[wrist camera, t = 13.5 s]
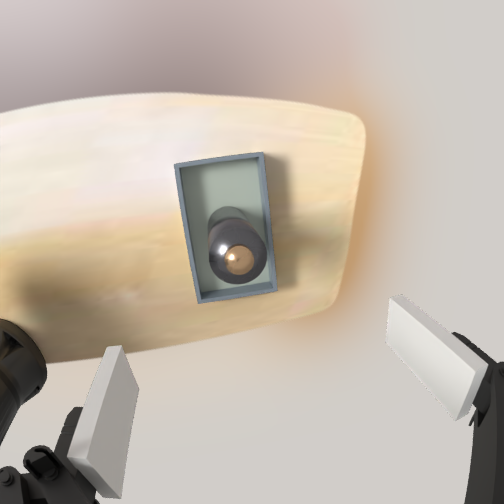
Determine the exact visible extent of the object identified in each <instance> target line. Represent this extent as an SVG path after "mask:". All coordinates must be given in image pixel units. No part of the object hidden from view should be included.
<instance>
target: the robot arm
mask: <svg viewBox="0 0 504 504" xmlns="http://www.w3.org/2000/svg"><path fill="white" fill-rule="evenodd" d="M385 343H387V345H388V346H389V347H390V348H391V349H392V350H393V351H394V352H395V353H396V355H397V356H399V358H400V359H401V360H402V361H403V362H404V363H405V365H406V366H407V367H408V368H409V369H410V370H411V371H412V372H413V373H414V375H415V376H416V377H417V378H418V379H419V380H420V381H421V382H422V384H423V385H424V386H425V387H426V388H427V389H428V390H429V392H430V393H431V394H432V395H433V396H434V397H435V398H436V400H437V401H438V402H439V403H440V404H441V405H442V406H443V408H444V409H445V410H446V411H447V412H448V413H449V415H450V416H451V417H452V418H453V419H454V420H455V421H457V420H458V419H460V418H462V417H463V416H465V415H467V414H468V413H469V410H470V408H471V406H472V404H473V405H474V406H475V407H476V410H475V413H474V415H473V417H472V419H471V421H470V423H469V426H471V425H472V423H473V421H474V433H473V446H472V456H471V465H470V473H469V480H468V486H467V492H466V497H465V503H464V504H504V362H499V363H496V362H495V361H494V360H493V359H492V358H490V357H489V356H488V355H487V354H486V353H484V352H483V351H482V350H481V349H480V348H477V346H476V345H475V344H473V343H471V341H470V340H468V339H467V338H466V337H465V336H463V335H461V334H458V333H456V332H453V333H450V332H449V331H448V330H446V329H445V328H444V327H443V326H442V325H440V324H439V323H438V322H437V321H435V320H434V319H433V318H432V317H430V316H429V315H428V314H427V313H425V312H424V311H423V310H421V309H420V308H419V307H417V306H416V305H415V304H414V303H412V302H411V301H410V300H409V299H407V298H406V297H404V296H403V295H398V296H394V297H390V302H389V312H388V322H387V331H386V340H385ZM46 379H47V368H46V364H45V361H44V358H43V356H42V354H41V352H40V351H39V349H38V347H37V346H36V345H35V343H34V342H33V341H32V340H31V338H30V337H29V336H28V335H27V334H26V333H25V332H24V331H22V330H21V329H20V328H19V327H17V326H16V325H14V324H12V323H10V322H8V321H6V320H3V319H0V445H1V443H2V441H3V439H4V437H5V435H6V433H7V431H8V429H9V427H10V425H11V423H12V421H13V419H14V417H15V415H16V413H17V411H18V409H19V408H20V406H21V405H23V404H24V403H25V402H27V401H28V400H29V399H31V398H32V397H34V396H35V395H36V394H38V393H39V392H40V390H41V389H42V387H43V385H44V383H45V381H46ZM138 392H139V387H138V385H137V383H136V380H135V378H134V376H133V373H132V371H131V368H130V366H129V363H128V361H127V358H126V355H125V353H124V350H123V347H122V345H120V346H109V347H107V348H106V351H105V353H104V356H103V358H102V360H101V363H100V365H99V368H98V370H97V373H96V375H95V378H94V380H93V383H92V386H91V388H90V391H89V394H88V397H87V399H86V402H85V404H84V407H74V408H73V410H72V411H71V412H70V413H69V414H68V415H67V418H66V420H65V423H64V427H63V428H62V431H61V434H60V436H59V439H58V442H57V445H56V447H55V450H54V453H53V452H52V450H51V449H50V448H49V447H46V446H41V445H39V446H35V447H33V448H31V449H30V450H29V451H27V453H26V454H25V456H24V459H23V464H24V467H25V468H26V469H27V470H28V471H29V472H30V473H26V474H20V473H19V472H18V471H17V470H16V469H15V468H14V467H11V466H6V467H3V468H1V469H0V504H100V503H99V502H98V501H97V500H96V499H95V494H96V491H98V493H99V494H100V495H101V496H102V497H105V498H118V499H121V496H122V487H123V480H124V473H125V466H126V459H127V452H128V446H129V441H130V434H131V429H132V423H133V418H134V412H135V407H136V402H137V397H138Z"/></svg>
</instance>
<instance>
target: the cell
mask: <svg viewBox="0 0 504 504" xmlns="http://www.w3.org/2000/svg"><path fill="white" fill-rule="evenodd" d="M207 229H208V252H209V263H210V267H211V269H212V271H213V272H214V274H215V275H216V276H217V277H218V278H219V279H221V280H222V281H224V282H226V283H229V284H237V285H239V284H245V283H248V282H250V281H252V280H254V279H255V278H257V277H258V276H259V275H260V274H261V273H262V271H263V270H264V268H265V265H266V262H267V249H266V246H265V244H264V242H263V240H262V239H261V237H260V236H259V234H258V233H257V231H256V230H255V229H254V227H253V226H252V224H251V223H250V221H249V220H248V218H247V217H246V216H245V214H244V213H243V212H242V211H241V210H240V209H238V208H236V207H232V206H225V207H221V208H219V209H217V210H216V211H214V212H213V213H212V215H211V216H210V218H209V220H208V225H207Z"/></svg>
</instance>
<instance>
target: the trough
mask: <svg viewBox="0 0 504 504" xmlns="http://www.w3.org/2000/svg"><path fill="white" fill-rule="evenodd" d="M174 169H175V176H176V183H177V189H178V196H179V202H180V209H181V215H182V221H183V227H184V233H185V238H186V244H187V249H188V255H189V260H190V266H191V271H192V276H193V281H194V286H195V291H196V296H197V301H198V304H201V303H207V302H214V301H220V300H227V299H233V298H239V297H245V296H251V295H257V294H263V293H269V292H275V291H277V281H276V270H275V259H274V249H273V239H272V229H271V219H270V209H269V200H268V190H267V181H266V172H265V163H264V154H263V152H257V153H248V154H239V155H231V156H223V157H216V158H209V159H202V160H196V161H189V162H183V163H177V164H174ZM225 206H232V207H236V208H238V209H240V210H241V211H242V212H243V213H244V214H245V216H246V217H247V218H248V220H249V221H250V223H251V224H252V226H253V227H254V229H255V230H256V231H257V233H258V234H259V236H260V237H261V239H262V240H263V242H264V244H265V246H266V249H267V262H266V265H265V268H264V270H263V271H262V273H261V274H260V275H259V276H258V277H257V278H255V279H254V280H252V281H250V282H248V283H245V284H239V285H237V284H229V283H226V282H224V281H222V280H221V279H219V278H218V277H217V276H216V275H215V274H214V272H213V271H212V269H211V267H210V263H209V252H208V229H207V225H208V220H209V218H210V216H211V215H212V213H213V212H214V211H216V210H217V209H219V208H221V207H225Z"/></svg>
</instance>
